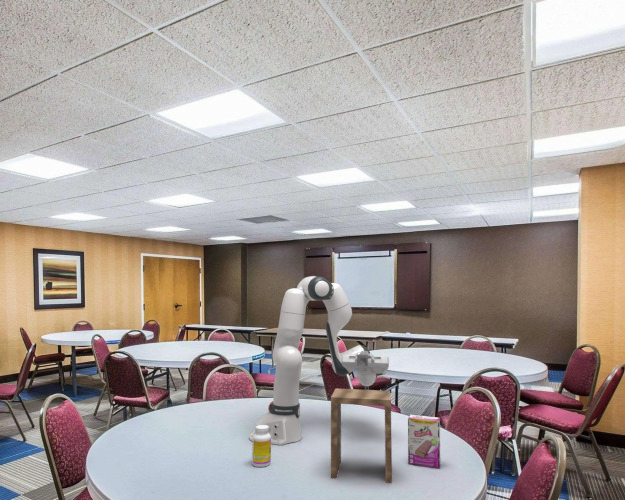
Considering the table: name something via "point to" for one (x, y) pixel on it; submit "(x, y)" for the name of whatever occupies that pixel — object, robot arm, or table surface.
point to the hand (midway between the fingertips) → (364, 354)
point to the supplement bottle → (261, 447)
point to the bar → (362, 358)
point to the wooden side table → (359, 399)
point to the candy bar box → (424, 441)
